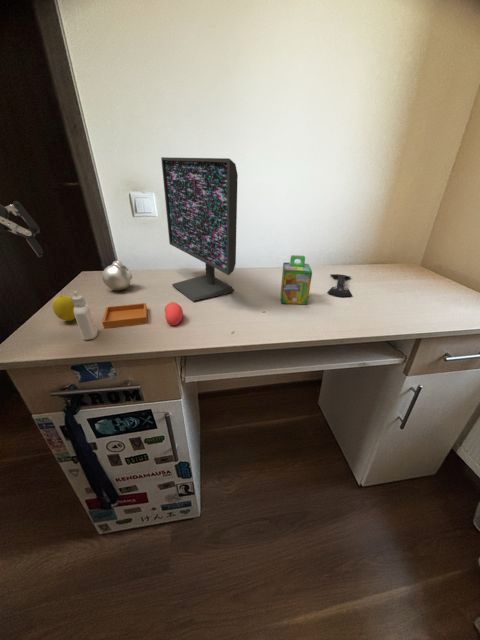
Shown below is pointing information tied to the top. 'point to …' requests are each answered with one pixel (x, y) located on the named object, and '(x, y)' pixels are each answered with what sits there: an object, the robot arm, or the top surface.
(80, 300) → the eye dropper bottle
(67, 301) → the lemon
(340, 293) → the dark flared piece
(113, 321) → the amber tray
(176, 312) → the red kidney bean shape
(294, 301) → the chalk box
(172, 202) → the computer monitor
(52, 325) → the top surface
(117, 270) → the silver rounded lump
